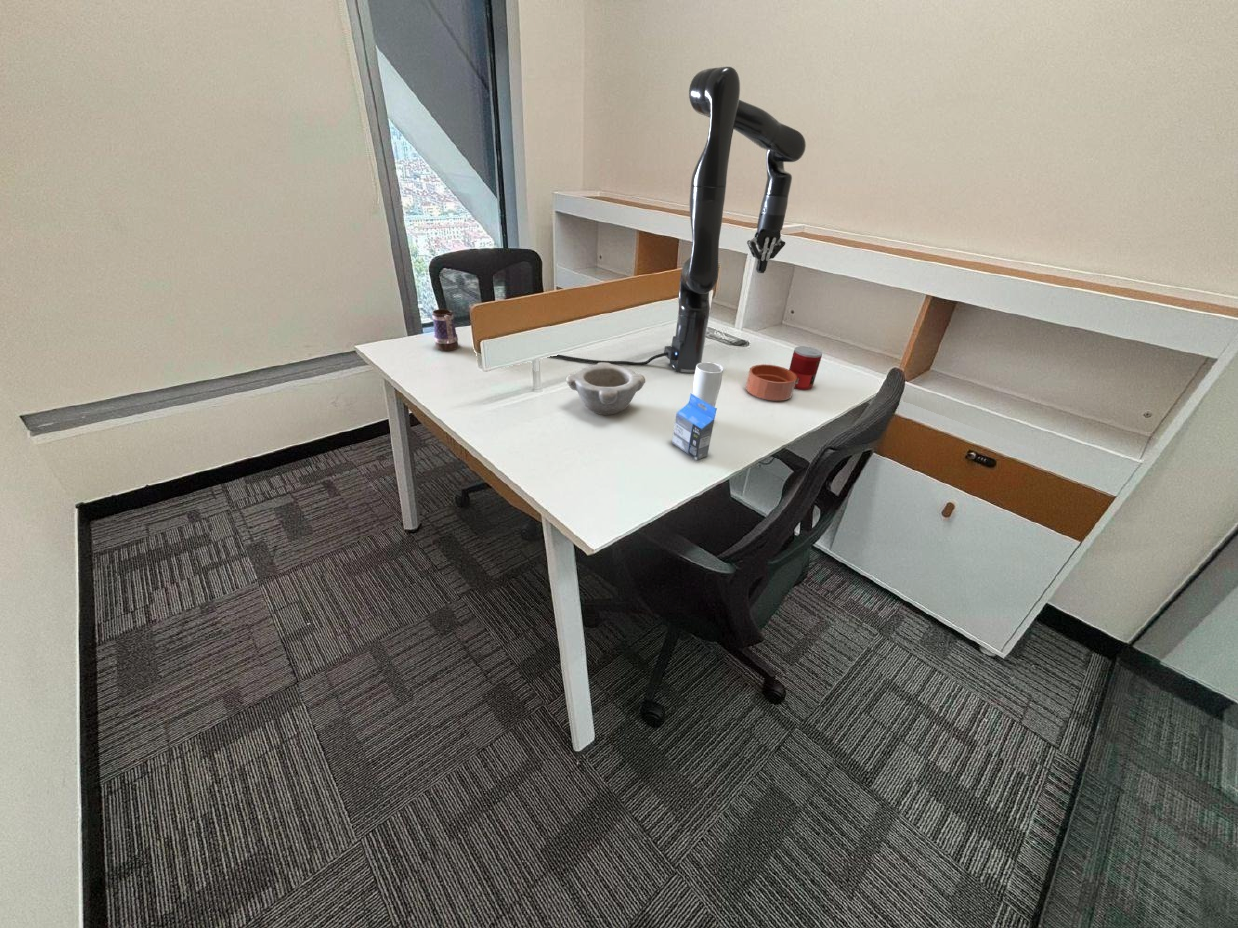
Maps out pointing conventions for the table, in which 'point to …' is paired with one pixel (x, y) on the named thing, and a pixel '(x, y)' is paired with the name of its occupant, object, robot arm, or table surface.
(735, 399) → the table surface
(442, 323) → the mug
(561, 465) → the table surface
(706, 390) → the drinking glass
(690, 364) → the robot arm
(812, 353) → the canned food
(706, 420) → the blue product box
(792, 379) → the bowl
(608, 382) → the mortar
